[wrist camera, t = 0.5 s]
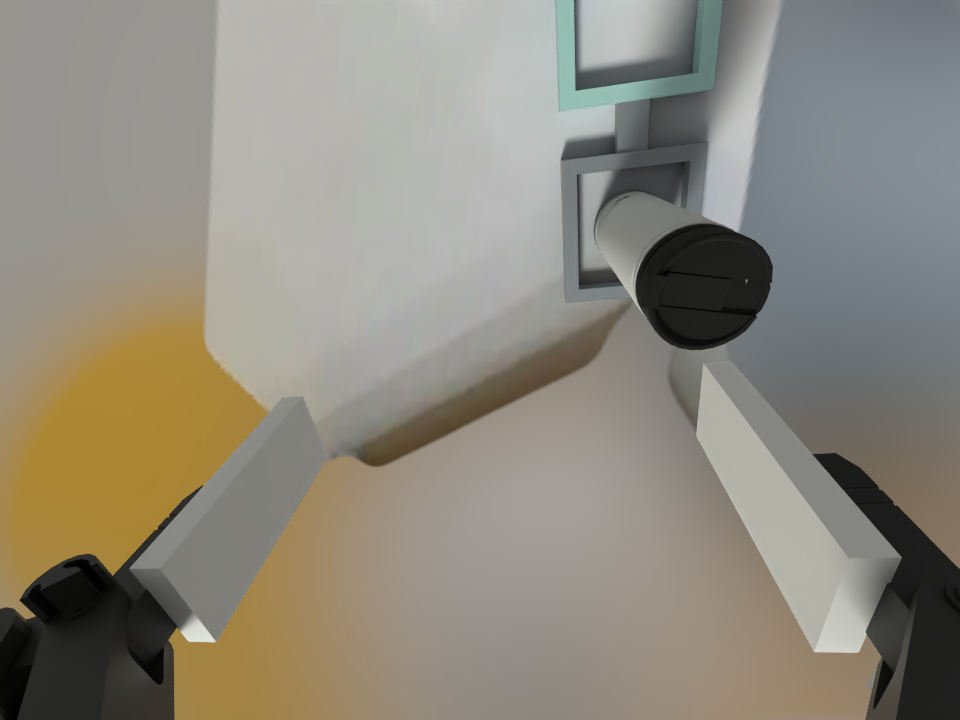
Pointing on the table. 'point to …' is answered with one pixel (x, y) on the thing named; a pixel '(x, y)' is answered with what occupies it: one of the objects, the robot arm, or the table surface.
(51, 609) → the robot arm
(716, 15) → the frame
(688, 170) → the frame
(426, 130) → the table surface
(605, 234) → the travel mug
